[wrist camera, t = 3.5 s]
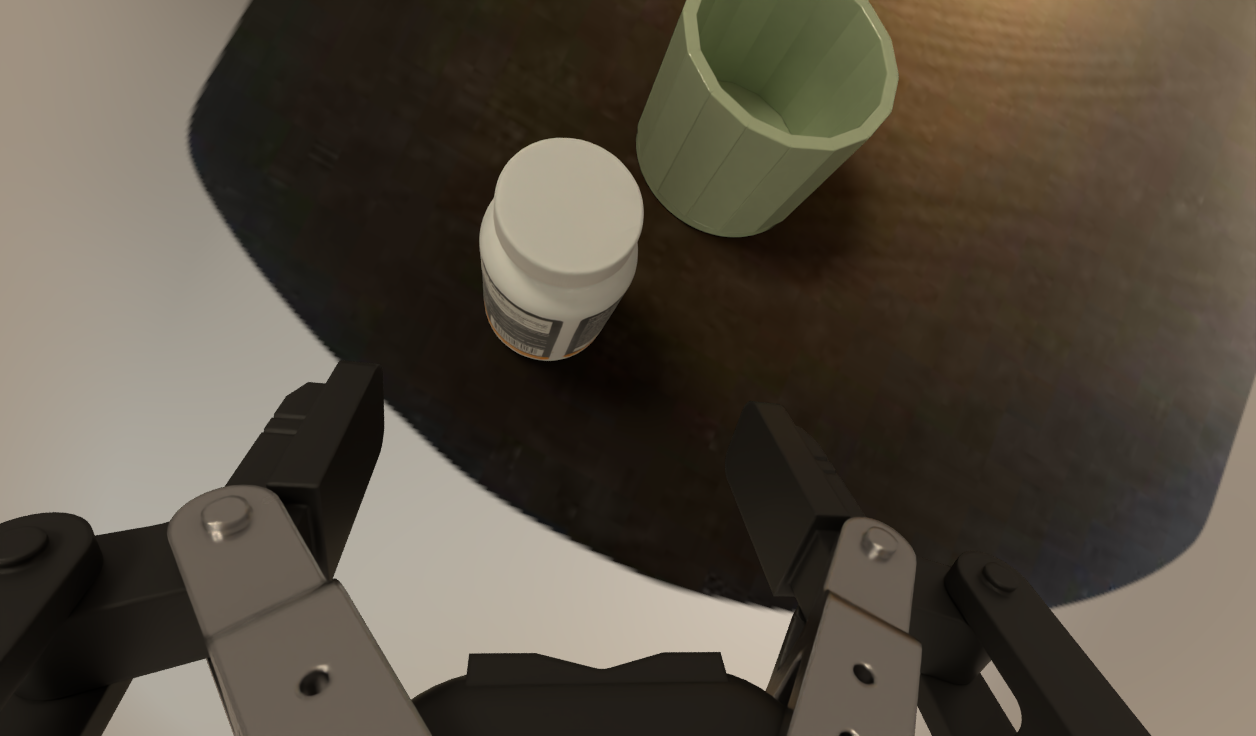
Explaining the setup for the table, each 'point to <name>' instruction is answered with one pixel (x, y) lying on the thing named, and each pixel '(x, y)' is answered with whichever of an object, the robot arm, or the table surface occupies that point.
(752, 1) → the green cup
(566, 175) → the pill bottle
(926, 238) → the table surface
